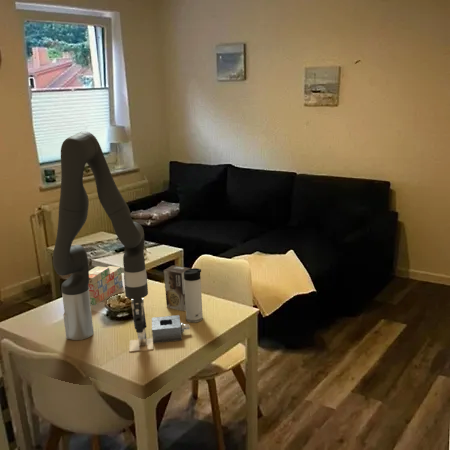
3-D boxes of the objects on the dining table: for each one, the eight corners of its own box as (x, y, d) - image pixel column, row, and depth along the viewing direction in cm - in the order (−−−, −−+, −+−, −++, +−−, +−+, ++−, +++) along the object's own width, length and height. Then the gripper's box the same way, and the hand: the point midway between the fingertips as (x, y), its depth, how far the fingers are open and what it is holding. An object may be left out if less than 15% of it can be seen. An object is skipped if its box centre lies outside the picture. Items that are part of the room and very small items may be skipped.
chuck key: (148, 345, 181) (142, 309, 178) (136, 346, 181) (130, 310, 178) (149, 340, 185) (144, 305, 182) (138, 341, 185) (133, 306, 182)
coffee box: (193, 305, 214) (191, 268, 210) (184, 311, 209) (181, 273, 205) (175, 301, 219) (173, 264, 215) (165, 307, 214) (163, 269, 210)
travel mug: (201, 323, 199) (198, 272, 194) (184, 322, 200) (181, 272, 195) (205, 316, 205) (202, 267, 199) (188, 315, 206) (185, 266, 201)
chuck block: (153, 343, 185) (152, 329, 184) (152, 330, 195) (151, 317, 193) (190, 339, 187) (190, 326, 185) (188, 326, 196) (188, 314, 195)
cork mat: (129, 352, 179) (129, 351, 179) (129, 341, 187) (129, 340, 187) (153, 349, 180) (153, 348, 180) (152, 339, 188) (152, 338, 188)
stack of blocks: (111, 285, 240) (108, 259, 237) (123, 286, 238) (120, 260, 235) (82, 303, 221) (79, 275, 218) (95, 305, 219) (92, 277, 215)
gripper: (147, 289, 171) (150, 337, 176) (147, 273, 185) (150, 319, 189) (123, 291, 170) (127, 339, 175) (125, 275, 184) (129, 321, 188)
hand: (139, 328), depth 182 cm, fingers closed on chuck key, 4 cm apart
